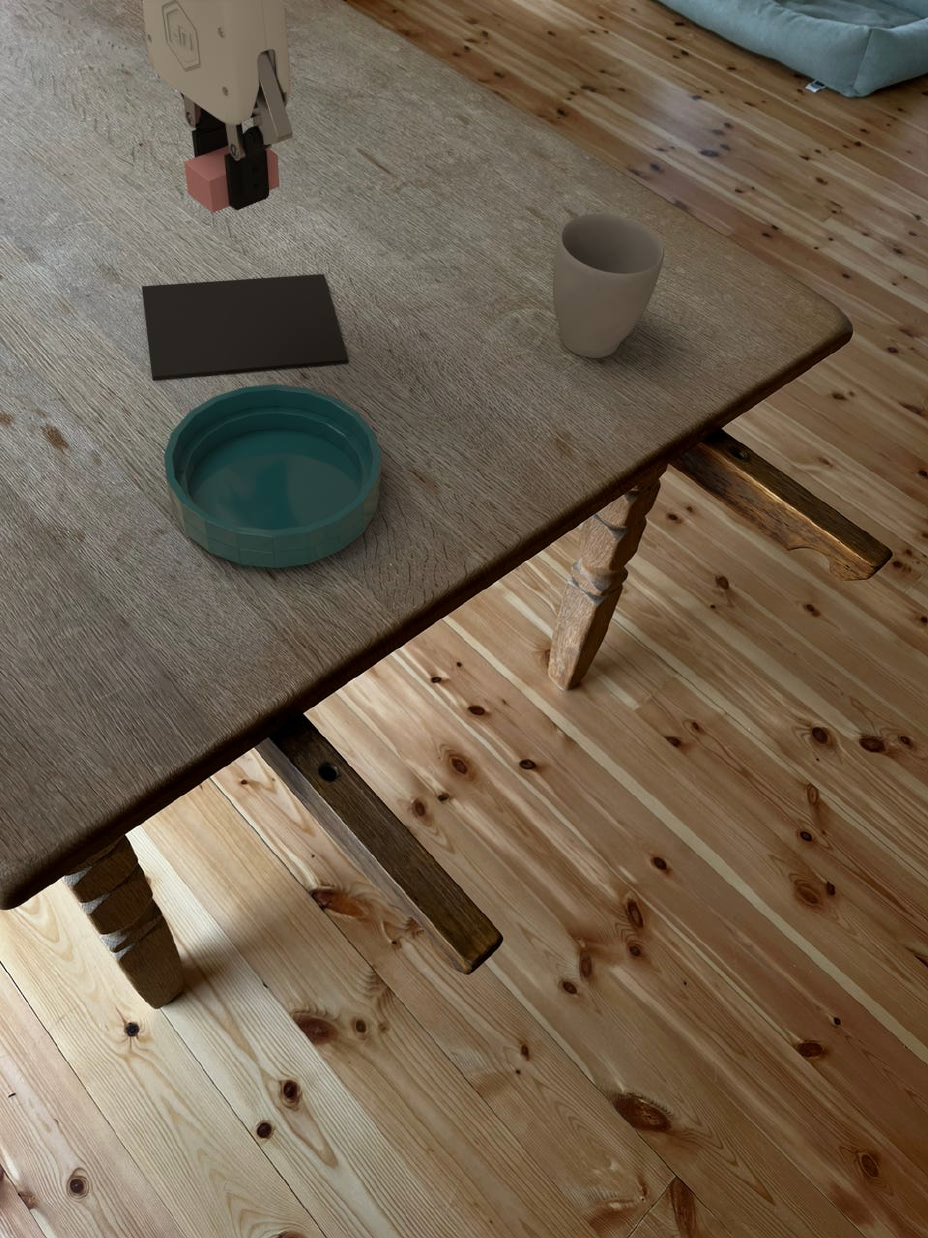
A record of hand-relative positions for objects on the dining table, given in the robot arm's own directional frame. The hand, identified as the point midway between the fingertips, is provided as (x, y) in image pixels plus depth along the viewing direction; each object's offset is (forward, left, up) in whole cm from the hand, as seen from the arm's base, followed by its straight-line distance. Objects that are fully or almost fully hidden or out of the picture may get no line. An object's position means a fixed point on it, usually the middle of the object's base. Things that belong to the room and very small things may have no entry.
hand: (233, 188), depth 73 cm
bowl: (0, -17, -14) cm, 22 cm away
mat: (0, +3, -14) cm, 15 cm away
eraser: (0, 0, 0) cm, 0 cm away
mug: (+30, -1, -15) cm, 33 cm away
